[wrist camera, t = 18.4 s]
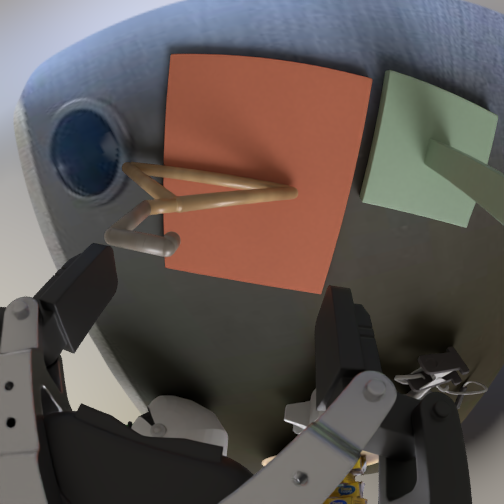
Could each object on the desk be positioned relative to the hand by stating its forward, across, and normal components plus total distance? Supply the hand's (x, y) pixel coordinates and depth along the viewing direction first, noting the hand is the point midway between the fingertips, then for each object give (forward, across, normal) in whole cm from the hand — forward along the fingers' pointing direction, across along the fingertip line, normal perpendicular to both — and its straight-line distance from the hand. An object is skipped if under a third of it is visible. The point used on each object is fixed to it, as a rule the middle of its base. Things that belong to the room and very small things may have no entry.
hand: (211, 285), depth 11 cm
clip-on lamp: (+14, -27, +21) cm, 37 cm away
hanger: (+13, +4, 0) cm, 13 cm away
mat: (+14, 0, 0) cm, 14 cm away
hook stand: (+14, -18, -5) cm, 23 cm away
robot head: (+14, +6, +34) cm, 37 cm away
